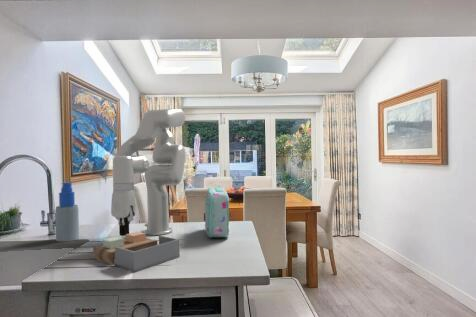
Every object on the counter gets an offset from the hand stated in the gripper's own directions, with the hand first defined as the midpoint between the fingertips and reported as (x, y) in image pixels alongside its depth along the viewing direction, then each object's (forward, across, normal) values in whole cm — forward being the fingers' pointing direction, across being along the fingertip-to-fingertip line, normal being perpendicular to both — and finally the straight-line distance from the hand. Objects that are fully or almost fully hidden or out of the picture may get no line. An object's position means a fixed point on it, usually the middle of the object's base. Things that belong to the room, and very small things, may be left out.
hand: (124, 234), depth 119 cm
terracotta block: (+1, +7, 0) cm, 7 cm away
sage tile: (+1, +7, -9) cm, 11 cm away
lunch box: (+5, +14, +38) cm, 40 cm away
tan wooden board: (+5, +8, -4) cm, 11 cm away
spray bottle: (+5, -36, -6) cm, 37 cm away
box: (+5, +21, -4) cm, 22 cm away
